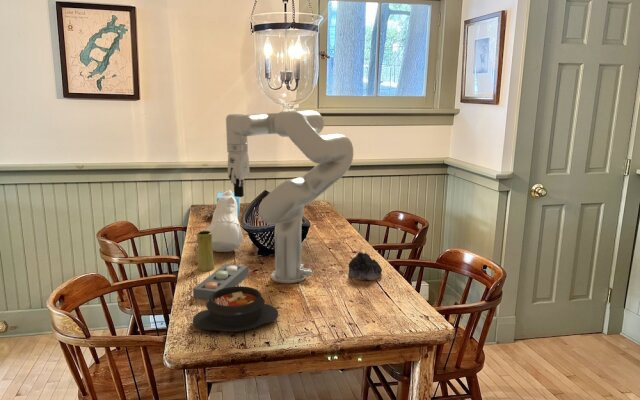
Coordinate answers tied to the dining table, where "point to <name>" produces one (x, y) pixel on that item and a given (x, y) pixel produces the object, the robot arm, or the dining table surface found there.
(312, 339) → the dining table surface
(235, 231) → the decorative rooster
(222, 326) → the casserole
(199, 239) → the vase
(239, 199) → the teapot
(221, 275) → the sage button
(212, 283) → the terracotta button
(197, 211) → the dining table surface
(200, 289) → the button panel
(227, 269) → the cream rounded piece
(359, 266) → the crystal cluster
